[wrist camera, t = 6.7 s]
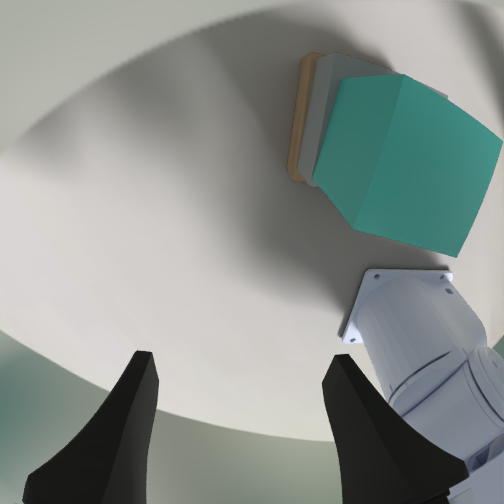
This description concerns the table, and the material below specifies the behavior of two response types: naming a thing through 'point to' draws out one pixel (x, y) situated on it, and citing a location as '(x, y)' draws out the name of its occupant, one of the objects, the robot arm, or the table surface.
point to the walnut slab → (301, 113)
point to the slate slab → (330, 103)
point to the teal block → (405, 162)
